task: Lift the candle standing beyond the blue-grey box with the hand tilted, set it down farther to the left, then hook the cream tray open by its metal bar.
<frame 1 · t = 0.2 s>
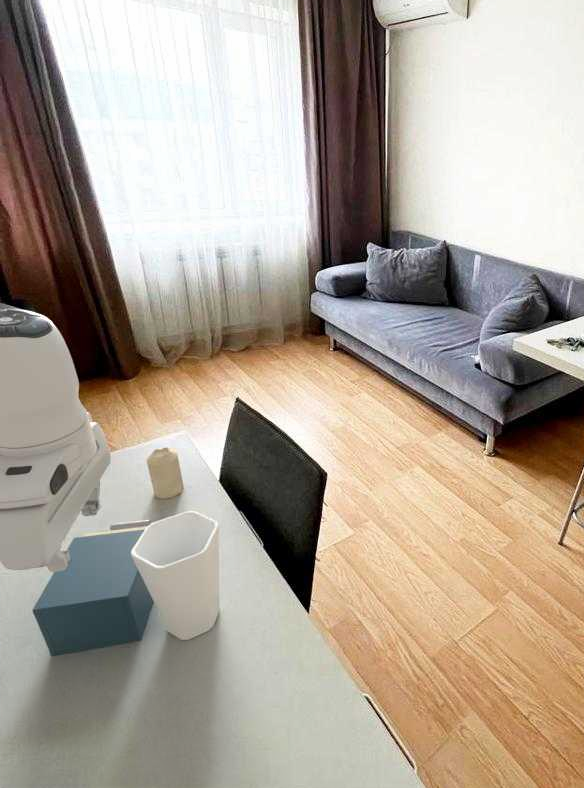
hand: (77, 537, 63), 23 cm above the table, tool pointing down, fingers open, 8 cm apart
blue-grey box: (113, 609, 79), on the table
cup: (194, 619, 78), on the table
candle: (169, 491, 104), on the table
tray: (116, 564, 81), point 5 cm above the table, slide at 0.5 cm
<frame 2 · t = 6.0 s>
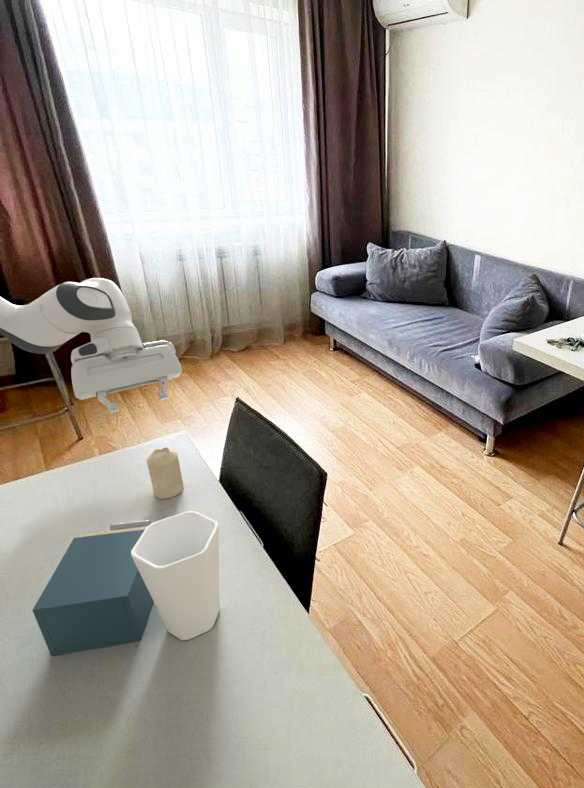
hand: (139, 405, 106), 15 cm above the table, tool tilted 45°, fingers open, 8 cm apart
nothing on the table moved.
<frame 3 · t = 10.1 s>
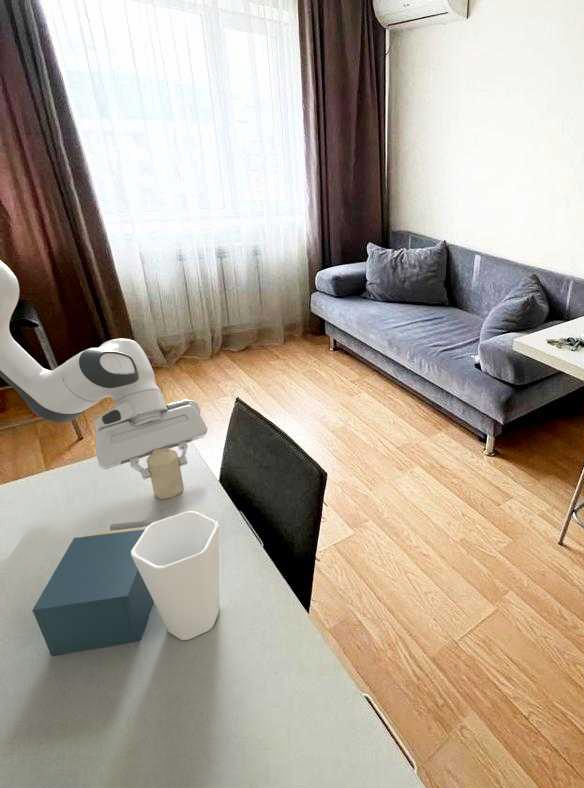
hand: (165, 471, 102), 5 cm above the table, tool tilted 45°, fingers closed on candle, 5 cm apart
candle: (169, 491, 104), on the table, touching gripper
everything else where it was.
when the fingers open (5 cm above the table, at t = 17.6 s): candle stays where it is, on the table.
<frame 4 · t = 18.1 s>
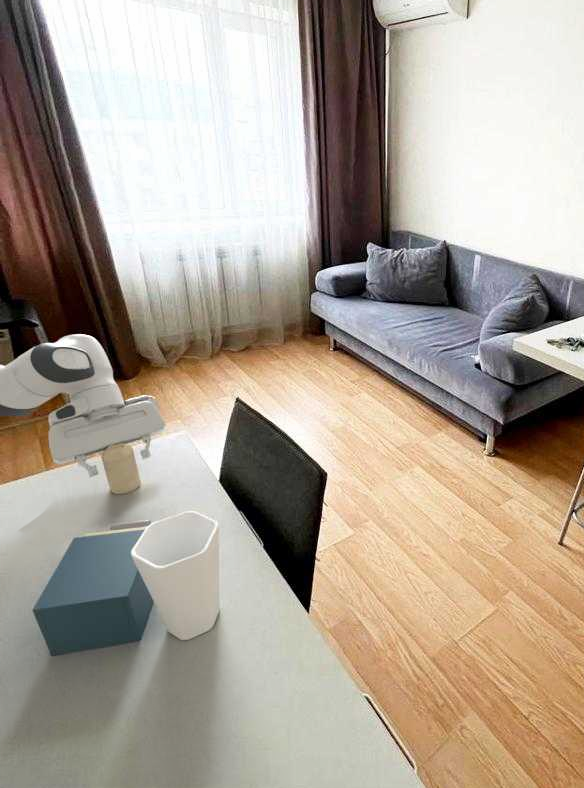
hand: (121, 466, 102), 6 cm above the table, tool tilted 45°, fingers open, 8 cm apart
candle: (126, 486, 105), on the table
everything else where it was.
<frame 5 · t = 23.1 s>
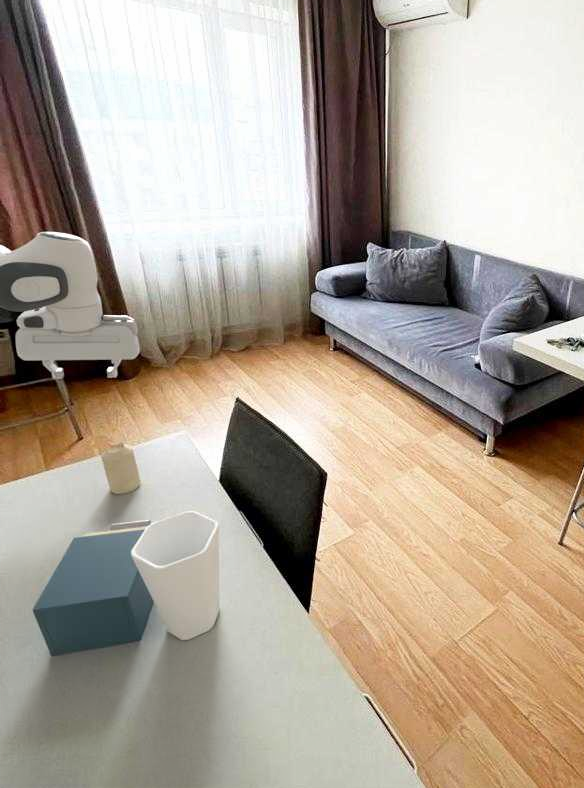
hand: (86, 377, 103), 21 cm above the table, tool pointing down, fingers open, 8 cm apart
nothing on the table moved.
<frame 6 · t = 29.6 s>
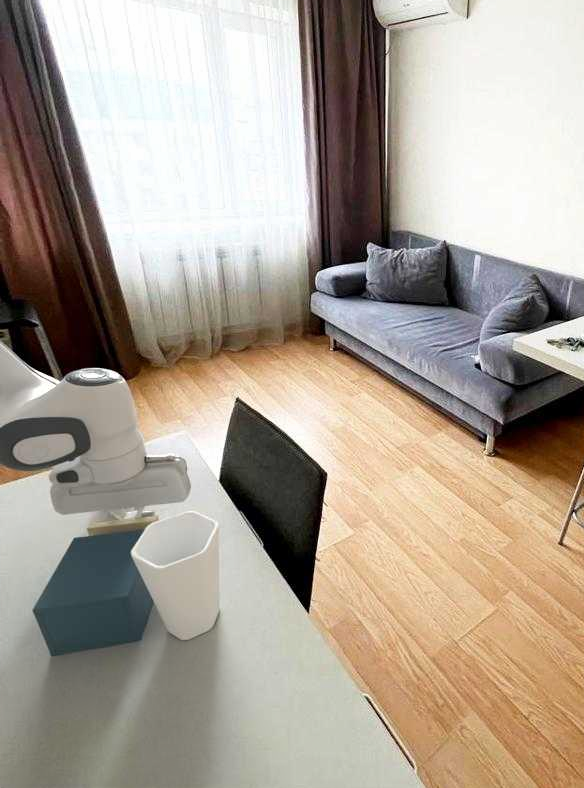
hand: (133, 522, 88), 6 cm above the table, tool pointing down, fingers closed, pressing on tray
tray: (121, 553, 83), point 5 cm above the table, slide at 2.9 cm, touching gripper
everything else where it was.
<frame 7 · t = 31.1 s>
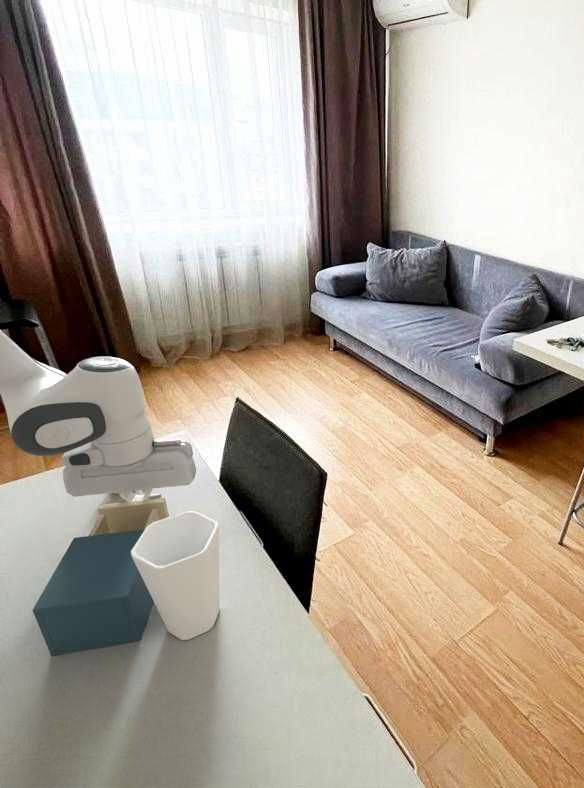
hand: (140, 505, 92), 6 cm above the table, tool pointing down, fingers closed, pressing on tray
tray: (130, 533, 87), point 5 cm above the table, slide at 7.6 cm, touching gripper
everything else where it was.
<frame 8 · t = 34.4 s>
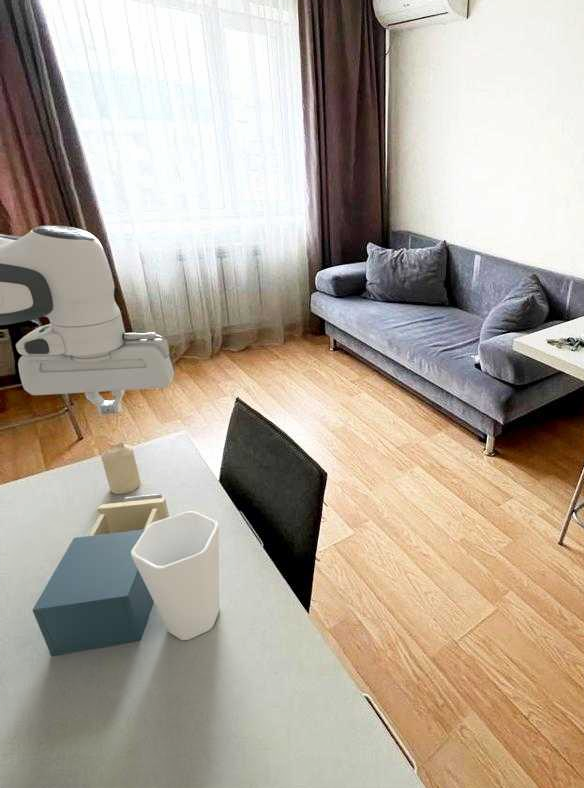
hand: (111, 412, 81), 27 cm above the table, tool pointing down, fingers closed
tray: (130, 533, 87), point 5 cm above the table, slide at 7.7 cm
everything else where it was.
at the end: tray slide at 7.7 cm; candle inside the target area (0.1 cm from its centre), on the table; candle tilted 0° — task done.
